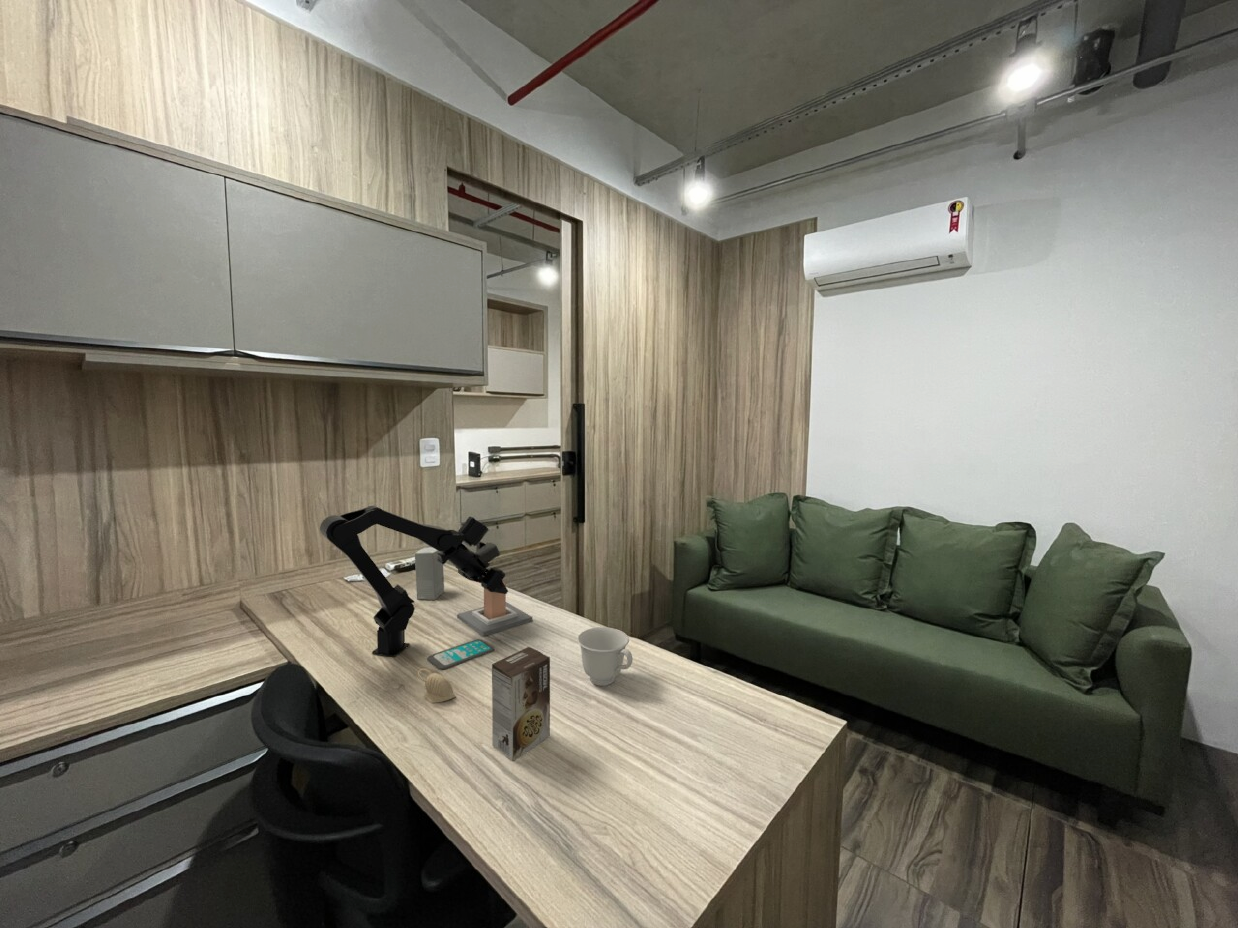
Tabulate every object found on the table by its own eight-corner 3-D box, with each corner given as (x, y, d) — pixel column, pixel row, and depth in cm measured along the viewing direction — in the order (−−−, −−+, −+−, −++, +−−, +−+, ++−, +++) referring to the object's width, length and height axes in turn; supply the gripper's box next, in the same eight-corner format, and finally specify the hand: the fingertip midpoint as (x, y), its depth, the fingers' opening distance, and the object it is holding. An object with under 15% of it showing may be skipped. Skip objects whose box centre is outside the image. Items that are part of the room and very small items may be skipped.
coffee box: (528, 722, 96) (529, 645, 95) (550, 736, 92) (552, 656, 91) (490, 745, 89) (490, 662, 88) (512, 762, 85) (513, 675, 84)
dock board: (483, 636, 133) (483, 628, 133) (457, 617, 145) (457, 610, 144) (532, 620, 144) (532, 613, 144) (504, 604, 156) (504, 598, 155)
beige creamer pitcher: (442, 706, 101) (441, 682, 100) (414, 695, 105) (414, 671, 104) (456, 697, 104) (456, 673, 104) (429, 686, 108) (429, 663, 108)
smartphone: (424, 655, 120) (479, 637, 131) (424, 659, 120) (479, 640, 131) (441, 668, 114) (496, 648, 125) (441, 672, 115) (496, 651, 125)
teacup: (610, 705, 103) (612, 661, 102) (565, 678, 113) (566, 637, 112) (647, 684, 111) (649, 642, 110) (602, 660, 122) (603, 622, 121)
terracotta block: (505, 615, 144) (505, 583, 143) (491, 620, 141) (491, 586, 140) (497, 611, 147) (497, 579, 146) (483, 615, 144) (483, 582, 143)
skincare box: (435, 600, 157) (435, 553, 156) (413, 599, 157) (413, 552, 156) (445, 591, 166) (445, 546, 164) (424, 590, 166) (424, 545, 164)
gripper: (499, 542, 132) (532, 573, 141) (467, 529, 146) (500, 559, 154) (472, 576, 128) (508, 606, 136) (442, 560, 141) (477, 588, 150)
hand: (498, 588), depth 144 cm, fingers open, 9 cm apart
